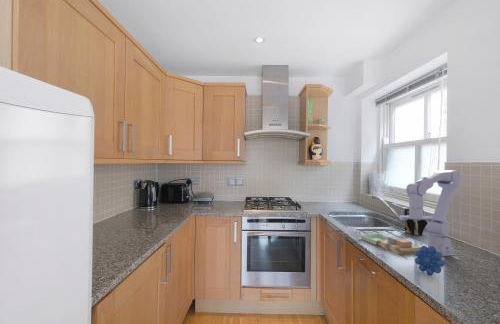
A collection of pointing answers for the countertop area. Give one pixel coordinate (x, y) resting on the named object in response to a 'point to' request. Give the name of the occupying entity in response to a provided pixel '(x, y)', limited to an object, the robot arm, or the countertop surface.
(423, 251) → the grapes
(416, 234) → the coffee box
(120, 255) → the countertop surface
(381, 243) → the birch board
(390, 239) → the slate tile
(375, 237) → the tray
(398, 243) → the terracotta tile
